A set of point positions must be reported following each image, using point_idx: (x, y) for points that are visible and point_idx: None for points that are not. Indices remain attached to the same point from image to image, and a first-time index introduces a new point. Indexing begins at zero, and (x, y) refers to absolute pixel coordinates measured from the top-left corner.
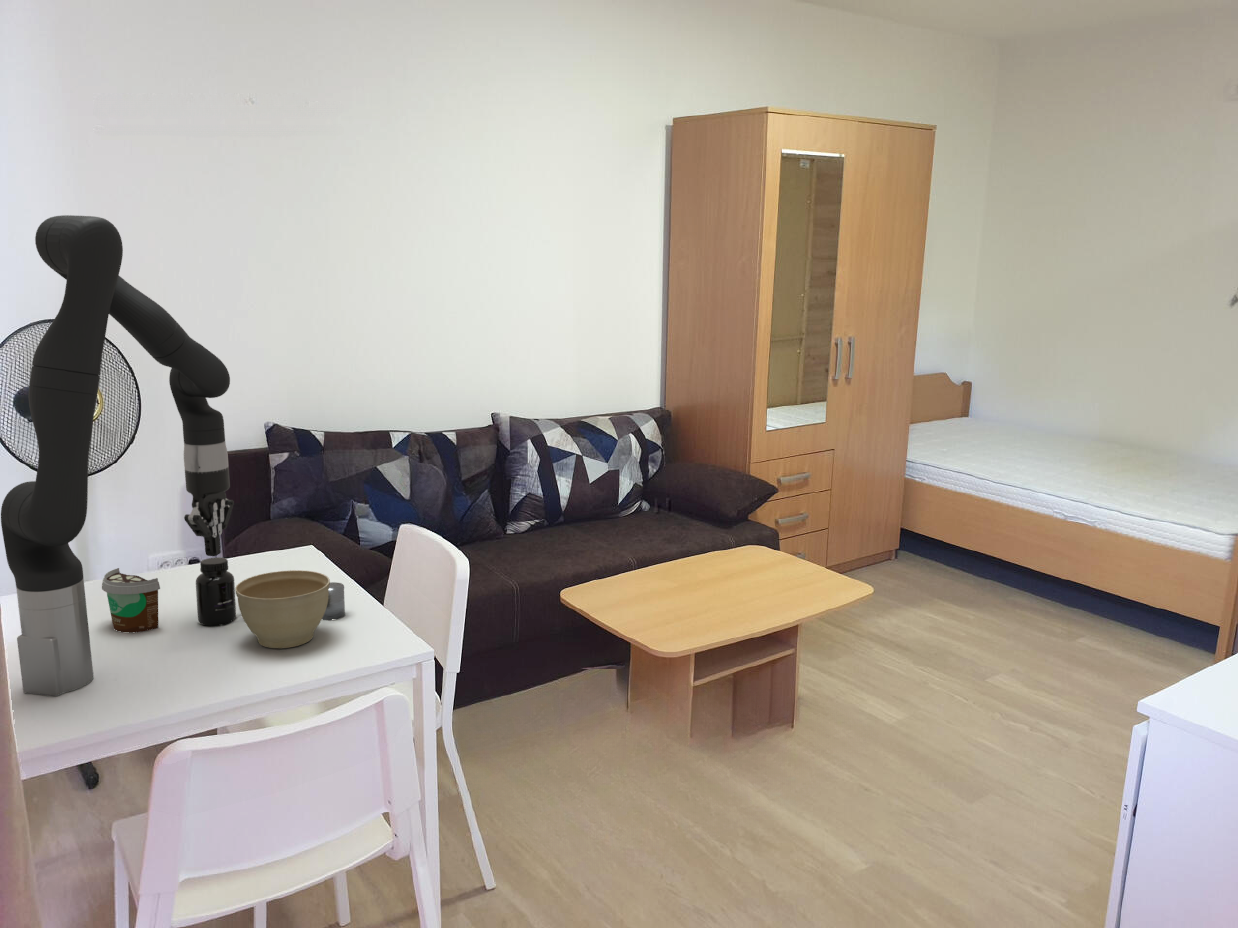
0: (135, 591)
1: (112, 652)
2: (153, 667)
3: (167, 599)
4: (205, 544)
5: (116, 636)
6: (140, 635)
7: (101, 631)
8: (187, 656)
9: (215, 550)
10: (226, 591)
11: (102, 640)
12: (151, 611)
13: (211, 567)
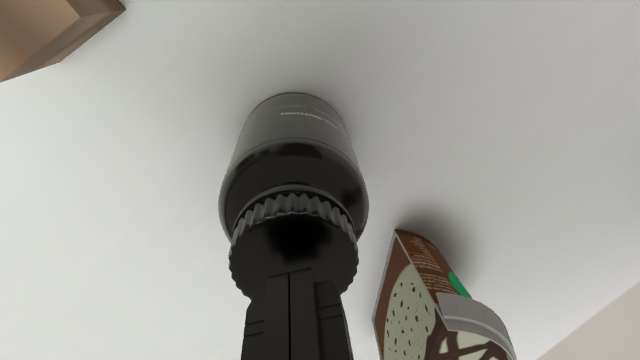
0: (498, 319)
1: (551, 201)
2: (634, 39)
3: None
4: (352, 356)
5: (466, 261)
6: (448, 226)
7: None
8: (551, 9)
9: (314, 289)
10: (307, 128)
11: (493, 266)
12: (428, 259)
13: (347, 226)
